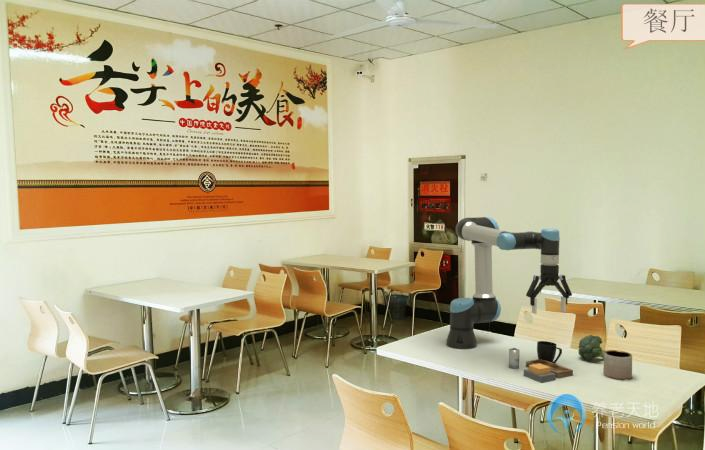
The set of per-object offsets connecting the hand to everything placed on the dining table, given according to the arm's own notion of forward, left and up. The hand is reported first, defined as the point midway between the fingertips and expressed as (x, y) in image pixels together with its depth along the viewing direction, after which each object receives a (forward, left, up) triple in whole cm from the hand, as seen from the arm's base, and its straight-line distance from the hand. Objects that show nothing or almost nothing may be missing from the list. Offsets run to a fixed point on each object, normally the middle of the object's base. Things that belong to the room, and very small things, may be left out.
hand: (548, 312), depth 240 cm
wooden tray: (+3, -2, -25) cm, 25 cm away
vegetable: (0, +29, -25) cm, 38 cm away
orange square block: (+8, -13, -23) cm, 27 cm away
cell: (-7, -13, -25) cm, 29 cm away
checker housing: (+8, -13, -25) cm, 29 cm away
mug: (-4, +5, -25) cm, 26 cm away
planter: (+21, +19, -25) cm, 37 cm away
